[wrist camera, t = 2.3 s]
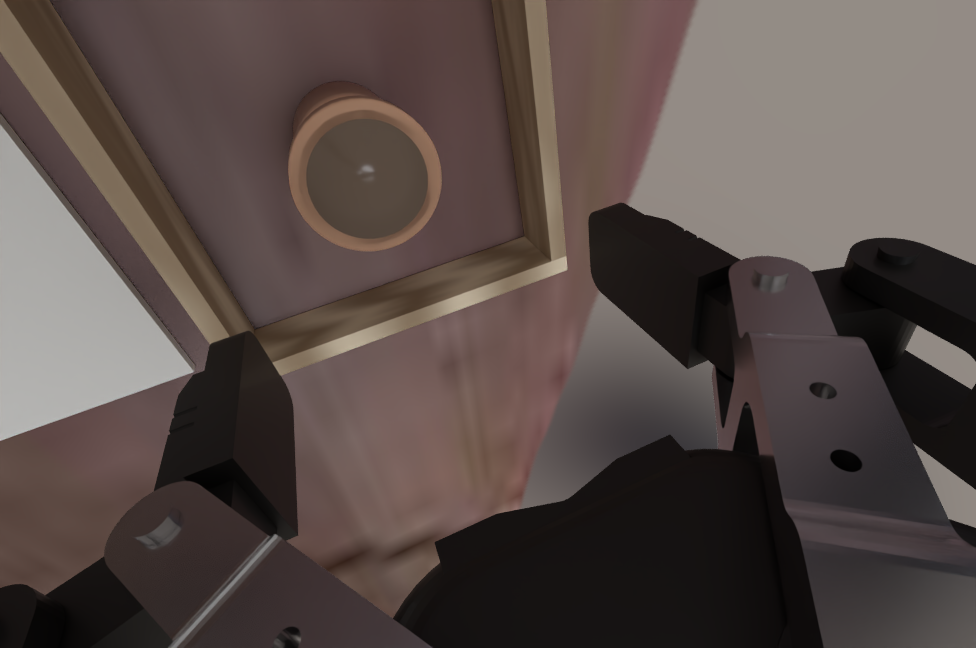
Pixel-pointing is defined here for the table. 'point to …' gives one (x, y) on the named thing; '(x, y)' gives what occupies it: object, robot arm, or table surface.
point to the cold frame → (186, 265)
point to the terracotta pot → (361, 168)
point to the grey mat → (66, 307)
